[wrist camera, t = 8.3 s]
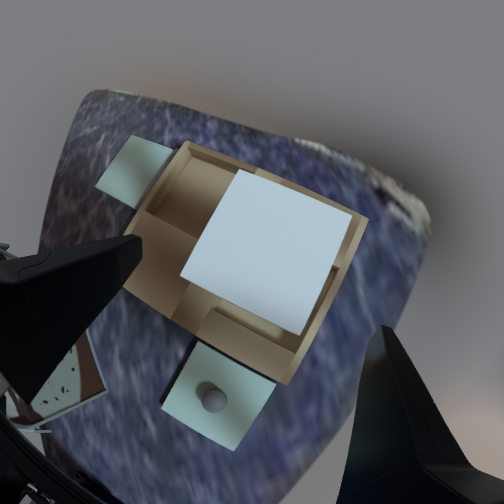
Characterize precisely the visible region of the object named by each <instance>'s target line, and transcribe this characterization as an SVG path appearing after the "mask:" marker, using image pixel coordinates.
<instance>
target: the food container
mask: <svg viewBox="0 0 504 504" xmlns="http://www.w3.org/2000/svg"><path fill="white" fill-rule="evenodd" d="M8 248H9V244H3V243H0V261H4V260H9V259H15V258H18V257H16V256H14V255H11V254H10V253H8V252H6V250H7V249H8ZM108 392H109V389H108V386H107V384H106V381H105V379H104V376H103V373H102V370H101V368H100V365H99V362H98V359H97V356H96V353H95V350H94V347H93V343H92V340H91V337H90V334H89V330H88V328H87V329H86V331H85V332H84V333H83V334H82V336H81V337H80V338H79V339H78V341H77V342H76V343H75V344H74V346H73V347H72V348H71V349H70V351H69V352H68V353H67V354H66V356H65V357H64V358H63V360H62V361H61V362H60V364H59V365H58V366H57V368H56V369H55V370H54V372H53V373H52V374H51V376H50V377H49V378H48V380H47V381H46V383H45V384H44V385H43V387H42V388H41V389H40V391H39V392H38V394H37V395H36V396H35V398H34V399H33V401H32V402H31V404H30V405H29V406H27V405H26V404H25V403H24V402H23V401H22V400H21V399H20V398H19V397H18V396H17V395H16V394H15V393H14V391H13V390H12V389H11V388H10V387H9V388H8V389H7V390H6V392H5V393H4V395H5V396H6V415H7V418H8V419H9V420H10V421H11V423H12V424H13V425H14V426H15V427H16V428H17V429H18V430H20V431H24V432H28V433H52V432H51V430H40V429H36V427H38V426H40V425H42V424H44V423H47V422H49V421H51V420H53V419H55V418H57V417H60V416H62V415H64V414H66V413H68V412H70V411H72V410H74V409H76V408H78V407H80V406H82V405H84V404H86V403H88V402H90V401H92V400H94V399H96V398H98V397H100V396H102V395H104V394H106V393H108Z"/></svg>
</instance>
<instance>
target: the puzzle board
mask: <svg viewBox="0 0 504 504" xmlns="http://www.w3.org/2000/svg"><path fill="white" fill-rule="evenodd" d="M239 169H241V170H244V171H246V172H249V173H252V174H254V175H257V176H259V177H262V178H265V179H267V180H270V181H272V182H275V183H277V184H280V185H282V186H285V187H287V188H290V189H292V190H295V191H297V192H299V193H302V194H304V195H306V196H309V197H311V198H314V199H316V200H318V201H321V202H323V203H325V204H327V205H330V206H332V207H334V208H336V209H339V210H341V211H343V212H345V213H347V214H350V215H352V218H351V221H350V223H349V226H348V228H347V231H346V233H345V236H344V238H343V241H342V243H341V246H340V248H339V250H338V253H337V255H336V258H335V260H334V262H333V265H332V267H331V269H330V272H329V274H328V276H327V279H326V281H325V283H324V285H323V288H322V290H321V292H320V294H319V296H318V299H317V301H316V303H315V305H314V307H313V309H312V311H311V314H310V316H309V318H308V320H307V322H306V324H305V326H304V328H303V330H302V332H301V334H300V336H299V335H296V334H294V333H291V332H289V331H287V330H284V329H282V328H280V327H278V326H276V325H274V324H272V323H270V322H268V321H266V320H264V319H262V318H259V317H257V316H255V315H253V314H251V313H249V312H247V311H245V310H243V309H241V308H239V307H237V306H235V305H233V304H231V303H230V302H228V301H226V300H224V299H222V298H220V297H218V296H216V295H214V294H213V293H211V292H209V291H207V290H205V289H203V288H201V287H200V286H198V285H196V284H194V283H192V282H190V281H189V280H187V279H185V278H183V277H181V276H180V274H181V272H182V270H183V268H184V266H185V265H186V263H187V261H188V259H189V257H190V255H191V253H192V252H193V250H194V248H195V246H196V244H197V242H198V240H199V239H200V237H201V235H202V233H203V231H204V230H205V228H206V226H207V224H208V222H209V221H210V219H211V217H212V215H213V213H214V212H215V210H216V208H217V206H218V205H219V203H220V201H221V199H222V198H223V196H224V194H225V192H226V191H227V189H228V187H229V186H230V184H231V182H232V181H233V179H234V177H235V175H236V174H237V172H238V170H239ZM95 187H96V188H97V189H99V190H101V191H103V192H104V193H106V194H108V195H110V196H112V197H113V198H115V199H117V200H119V201H121V202H122V203H124V204H126V205H128V206H130V207H131V208H133V209H135V210H137V213H136V214H135V216H134V218H133V219H132V221H131V223H130V224H129V226H128V228H127V229H126V231H125V233H124V234H123V235H128V234H135V235H137V236H140V237H141V238H142V248H143V256H142V260H141V262H140V263H139V264H138V266H137V267H136V268H135V270H134V271H133V273H132V274H131V275H130V277H129V278H128V280H127V281H126V282H125V284H124V285H123V286H122V287H124V288H125V289H126V290H128V291H129V292H131V293H132V294H133V295H135V296H136V297H138V298H139V299H141V300H142V301H143V302H145V303H146V304H148V305H149V306H151V307H152V308H154V309H155V310H157V311H158V312H160V313H161V314H163V315H164V316H166V317H167V318H169V319H170V320H172V321H174V322H175V323H177V324H178V325H180V326H181V327H183V328H185V329H186V330H188V331H189V332H191V333H193V334H194V335H196V336H197V337H199V338H201V339H202V340H204V341H206V342H207V343H209V344H211V345H213V346H214V347H216V348H218V349H219V350H221V351H223V352H225V353H226V354H228V355H230V356H232V357H233V358H235V359H237V360H239V361H241V362H242V363H244V364H246V365H248V366H250V367H252V368H254V369H255V370H257V371H259V372H261V373H263V374H265V375H267V376H269V377H271V378H273V379H275V380H277V381H279V382H281V383H283V384H285V385H288V383H289V382H290V380H291V378H292V377H293V375H294V373H295V371H296V370H297V368H298V366H299V364H300V363H301V361H302V359H303V357H304V355H305V353H306V352H307V350H308V348H309V346H310V344H311V342H312V341H313V339H314V337H315V335H316V333H317V331H318V329H319V327H320V325H321V323H322V321H323V319H324V317H325V315H326V313H327V311H328V309H329V307H330V305H331V303H332V301H333V299H334V297H335V295H336V293H337V291H338V289H339V287H340V285H341V282H342V280H343V278H344V276H345V274H346V272H347V269H348V267H349V265H350V263H351V260H352V258H353V256H354V254H355V251H356V249H357V247H358V244H359V242H360V240H361V237H362V235H363V232H364V230H365V228H366V225H367V223H368V220H369V219H368V218H366V217H364V216H362V215H360V214H358V213H356V212H354V211H352V210H350V209H348V208H346V207H344V206H342V205H340V204H338V203H336V202H334V201H332V200H330V199H327V198H325V197H323V196H321V195H319V194H317V193H315V192H312V191H310V190H308V189H306V188H304V187H301V186H299V185H297V184H295V183H292V182H290V181H288V180H286V179H283V178H281V177H279V176H276V175H274V174H272V173H269V172H267V171H264V170H262V169H260V168H257V167H255V166H252V165H250V164H247V163H245V162H242V161H240V160H237V159H235V158H232V157H230V156H227V155H224V154H222V153H219V152H216V151H214V150H211V149H208V148H206V147H203V146H200V145H197V144H195V143H192V142H189V141H185V143H184V144H183V145H182V147H181V148H180V149H179V148H175V149H174V150H172V149H170V148H167V147H164V146H162V145H159V144H156V143H153V142H150V141H148V140H145V139H142V138H139V137H136V136H133V135H131V137H130V138H129V139H128V140H127V142H126V143H125V144H124V146H123V147H122V148H121V150H120V151H119V153H118V154H117V155H116V157H115V158H114V159H113V161H112V162H111V164H110V165H109V167H108V168H107V169H106V171H105V172H104V174H103V175H102V177H101V178H100V180H99V181H98V183H97V184H96V186H95ZM275 386H276V383H275V382H273V381H271V380H269V379H268V378H266V377H264V376H262V375H260V374H258V373H256V372H254V371H252V370H250V369H249V368H247V367H245V366H243V365H241V364H239V363H238V362H236V361H234V360H232V359H230V358H229V357H227V356H225V355H223V354H222V353H220V352H218V351H217V350H215V349H213V348H211V347H210V346H208V345H206V344H205V343H203V342H201V341H198V342H197V344H196V346H195V348H194V350H193V351H192V353H191V355H190V357H189V359H188V360H187V362H186V364H185V366H184V368H183V370H182V371H181V373H180V375H179V377H178V379H177V380H176V382H175V384H174V386H173V388H172V389H171V391H170V393H169V395H168V397H167V398H166V400H165V402H164V404H163V406H162V408H161V409H162V410H164V411H165V412H167V413H168V414H170V415H171V416H173V417H174V418H176V419H178V420H179V421H181V422H182V423H184V424H186V425H187V426H189V427H190V428H192V429H194V430H195V431H197V432H199V433H201V434H202V435H204V436H206V437H208V438H209V439H211V440H213V441H215V442H217V443H218V444H220V445H222V446H224V447H226V448H228V449H230V450H232V451H234V450H235V449H236V447H237V446H238V444H239V443H240V441H241V440H242V438H243V437H244V435H245V434H246V432H247V431H248V429H249V428H250V426H251V425H252V423H253V422H254V420H255V418H256V417H257V415H258V414H259V412H260V410H261V409H262V407H263V406H264V404H265V402H266V401H267V399H268V397H269V396H270V394H271V393H272V391H273V389H274V387H275Z"/></svg>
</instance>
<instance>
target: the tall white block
mask: <svg viewBox="0 0 504 504" xmlns="http://www.w3.org/2000/svg"><path fill="white" fill-rule="evenodd" d="M351 218H352V215H350V214H347V213H345V212H343V211H341V210H339V209H336V208H334V207H332V206H330V205H327V204H325V203H323V202H321V201H318V200H316V199H314V198H311V197H309V196H306V195H304V194H302V193H299V192H297V191H295V190H292V189H290V188H287V187H285V186H282V185H280V184H277V183H275V182H272V181H270V180H267V179H265V178H262V177H259V176H257V175H254V174H252V173H249V172H246V171H244V170H241V169H239V170H238V172H237V174H236V175H235V177H234V179H233V181H232V182H231V184H230V186H229V187H228V189H227V191H226V192H225V194H224V196H223V198H222V199H221V201H220V203H219V205H218V206H217V208H216V210H215V212H214V213H213V215H212V217H211V219H210V221H209V222H208V224H207V226H206V228H205V230H204V231H203V233H202V235H201V237H200V239H199V240H198V242H197V244H196V246H195V248H194V250H193V252H192V253H191V255H190V257H189V259H188V261H187V263H186V265H185V266H184V268H183V270H182V272H181V274H180V276H181V277H183V278H185V279H187V280H189V281H190V282H192V283H194V284H196V285H198V286H200V287H201V288H203V289H205V290H207V291H209V292H211V293H213V294H214V295H216V296H218V297H220V298H222V299H224V300H226V301H228V302H230V303H231V304H233V305H235V306H237V307H239V308H241V309H243V310H245V311H247V312H249V313H251V314H253V315H255V316H257V317H259V318H262V319H264V320H266V321H268V322H270V323H272V324H274V325H276V326H278V327H280V328H282V329H284V330H287V331H289V332H291V333H294V334H296V335H299V336H300V334H301V332H302V330H303V328H304V326H305V324H306V322H307V320H308V318H309V316H310V314H311V311H312V309H313V307H314V305H315V303H316V301H317V299H318V296H319V294H320V292H321V290H322V288H323V285H324V283H325V281H326V279H327V276H328V274H329V272H330V269H331V267H332V265H333V262H334V260H335V258H336V255H337V253H338V250H339V248H340V246H341V243H342V241H343V238H344V236H345V233H346V231H347V228H348V226H349V223H350V221H351Z"/></svg>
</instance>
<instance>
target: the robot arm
mask: <svg viewBox="0 0 504 504" xmlns="http://www.w3.org/2000/svg"><path fill="white" fill-rule="evenodd" d="M142 256H143V248H142V238H141V237H140V236H137V235H135V234H128V235H123V236H118V237H113V238H109V239H104V240H99V241H94V242H90V243H85V244H80V245H76V246H71V247H67V248H62V249H58V250H54V251H49V252H45V253H40V254H36V255H31V256H26V257H20V258H15V259H9V260H4V261H0V504H121V503H120V502H118V501H117V500H115V499H114V498H113V497H111V496H110V495H109V494H107V493H106V492H105V491H103V490H102V489H101V488H99V487H98V486H97V485H96V484H94V483H93V482H92V481H91V480H90V479H88V478H87V477H86V476H85V475H84V474H83V473H81V472H80V471H76V472H74V474H73V477H72V478H70V477H69V476H68V475H67V474H65V473H64V472H63V471H62V470H60V469H59V468H58V467H57V466H56V465H54V464H53V463H52V462H51V461H50V460H49V459H48V458H47V457H45V456H44V455H43V454H42V453H41V452H40V451H39V450H38V449H37V448H35V446H33V444H32V443H31V442H30V441H29V440H28V439H27V438H25V436H24V435H23V434H22V433H21V432H20V431H19V430H18V429H17V428H16V427H15V426H14V425H13V424H12V423H11V421H10V420H9V419H8V418H7V415H6V396H5V395H4V393H5V392H6V390H7V389H8V388H9V387H10V388H11V389H12V390H13V391H14V393H15V394H16V395H17V396H18V397H19V398H20V399H21V400H22V401H23V402H24V403H25V404H26V405H27V406H29V405H30V404H31V402H32V401H33V399H34V398H35V396H36V395H37V394H38V392H39V391H40V389H41V388H42V387H43V385H44V384H45V383H46V381H47V380H48V378H49V377H50V376H51V374H52V373H53V372H54V370H55V369H56V368H57V366H58V365H59V364H60V362H61V361H62V360H63V358H64V357H65V356H66V354H67V353H68V352H69V351H70V349H71V348H72V347H73V346H74V344H75V343H76V342H77V341H78V339H79V338H80V337H81V336H82V334H83V333H84V332H85V331H86V329H87V328H88V327H89V326H90V325H91V323H92V322H93V321H94V320H95V318H96V317H97V316H98V315H99V314H100V313H101V311H102V310H103V309H104V308H105V307H106V305H107V304H108V303H109V302H110V301H111V300H112V299H113V297H114V296H115V295H116V294H117V293H118V292H119V290H120V289H121V288H122V286H123V285H124V284H125V282H126V281H127V280H128V278H129V277H130V275H131V274H132V273H133V271H134V270H135V268H136V267H137V266H138V264H139V263H140V262H141V260H142ZM433 402H434V401H433V399H432V397H431V395H430V393H429V391H428V389H427V388H426V386H425V384H424V382H423V380H422V379H421V377H420V375H419V373H418V372H417V370H416V368H415V366H414V365H413V363H412V361H411V359H410V358H409V356H408V355H407V353H406V351H405V349H404V348H403V346H402V344H401V342H400V341H399V339H398V338H397V336H396V334H395V333H394V331H393V329H392V328H390V327H387V326H384V325H380V326H379V327H378V329H377V330H376V332H375V333H374V335H373V336H372V338H371V339H370V341H369V343H368V346H367V351H366V356H365V360H364V365H363V369H362V374H361V378H360V383H359V389H358V396H357V404H356V411H355V417H354V423H353V429H352V435H351V441H350V446H349V451H348V457H347V461H346V465H345V470H344V475H343V478H342V483H341V487H340V491H339V495H338V498H337V501H336V504H504V480H501V479H499V478H496V477H494V476H491V475H489V474H486V473H484V472H482V471H479V470H477V469H476V468H474V467H473V466H472V465H471V464H470V463H469V461H468V460H467V458H466V457H465V455H464V453H463V452H462V450H461V448H460V447H459V445H458V443H457V441H456V440H455V438H454V436H453V435H452V433H451V432H450V430H449V428H448V426H447V425H446V423H445V421H444V420H443V417H442V416H441V414H440V412H439V410H438V408H437V406H436V404H435V403H433ZM28 483H29V484H30V485H32V486H33V487H35V488H36V489H37V490H38V491H36V492H35V490H33V489H32V488H30V487H29V486H27V485H28ZM46 498H47V499H49V501H48V500H47V499H46Z"/></svg>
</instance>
